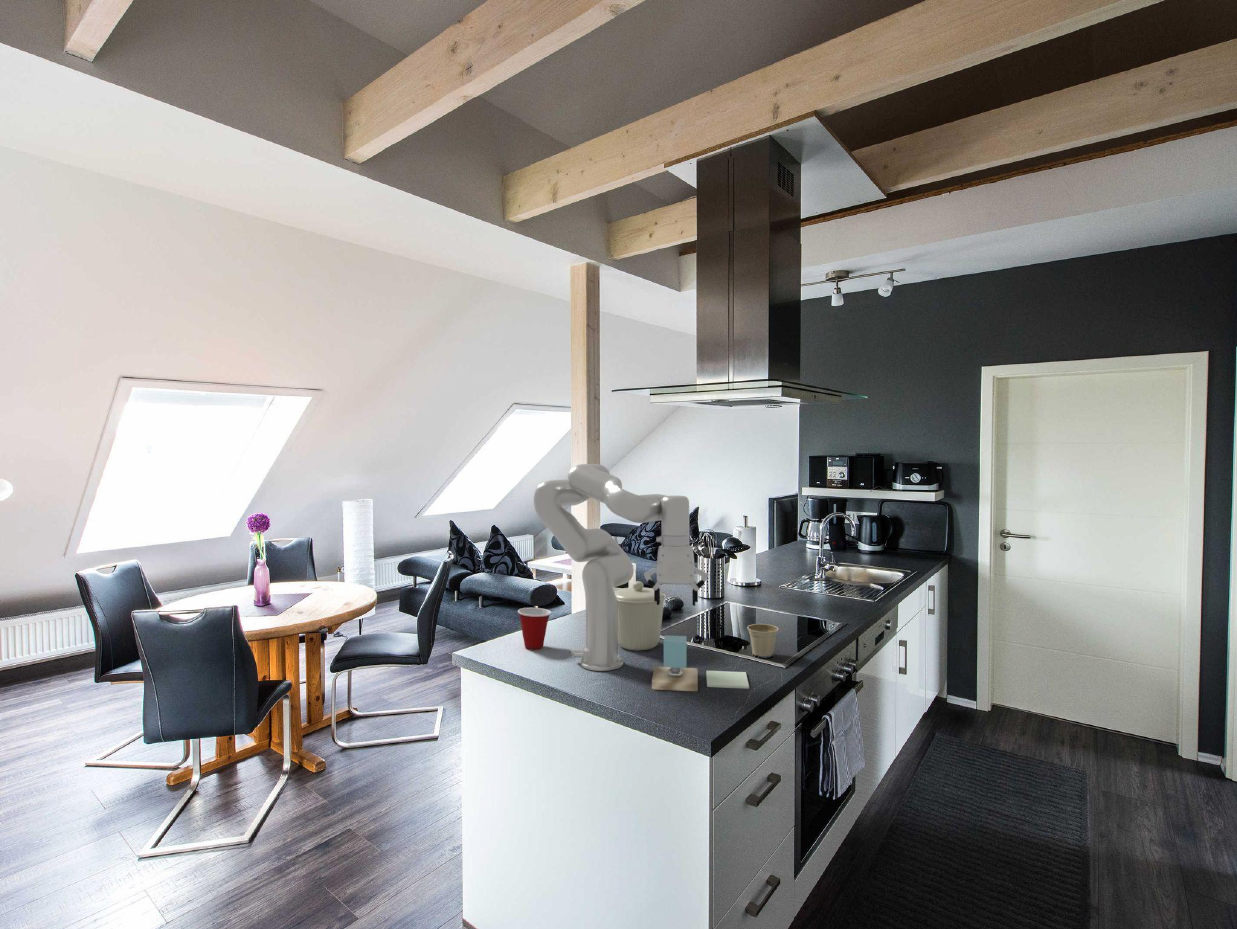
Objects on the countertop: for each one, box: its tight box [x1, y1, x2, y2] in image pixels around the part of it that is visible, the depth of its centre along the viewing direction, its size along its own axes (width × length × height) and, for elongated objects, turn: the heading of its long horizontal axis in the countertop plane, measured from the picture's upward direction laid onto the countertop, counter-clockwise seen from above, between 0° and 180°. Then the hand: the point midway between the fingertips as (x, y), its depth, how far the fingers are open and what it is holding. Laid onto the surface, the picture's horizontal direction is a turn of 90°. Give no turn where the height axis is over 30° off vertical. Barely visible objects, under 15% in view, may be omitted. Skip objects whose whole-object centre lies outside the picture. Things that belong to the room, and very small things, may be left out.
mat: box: [705, 670, 750, 690], centre depth 171 cm, size 11×11×1 cm
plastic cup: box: [517, 607, 552, 650], centre depth 201 cm, size 11×11×12 cm
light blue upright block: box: [663, 634, 688, 668], centre depth 170 cm, size 6×6×7 cm
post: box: [668, 667, 683, 677], centre depth 170 cm, size 4×4×9 cm
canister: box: [614, 580, 667, 652], centre depth 202 cm, size 18×18×21 cm
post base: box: [651, 666, 699, 692], centre depth 170 cm, size 12×12×2 cm
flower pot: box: [746, 623, 779, 656], centre depth 192 cm, size 9×9×9 cm
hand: (676, 604), depth 169 cm, fingers open, 9 cm apart
